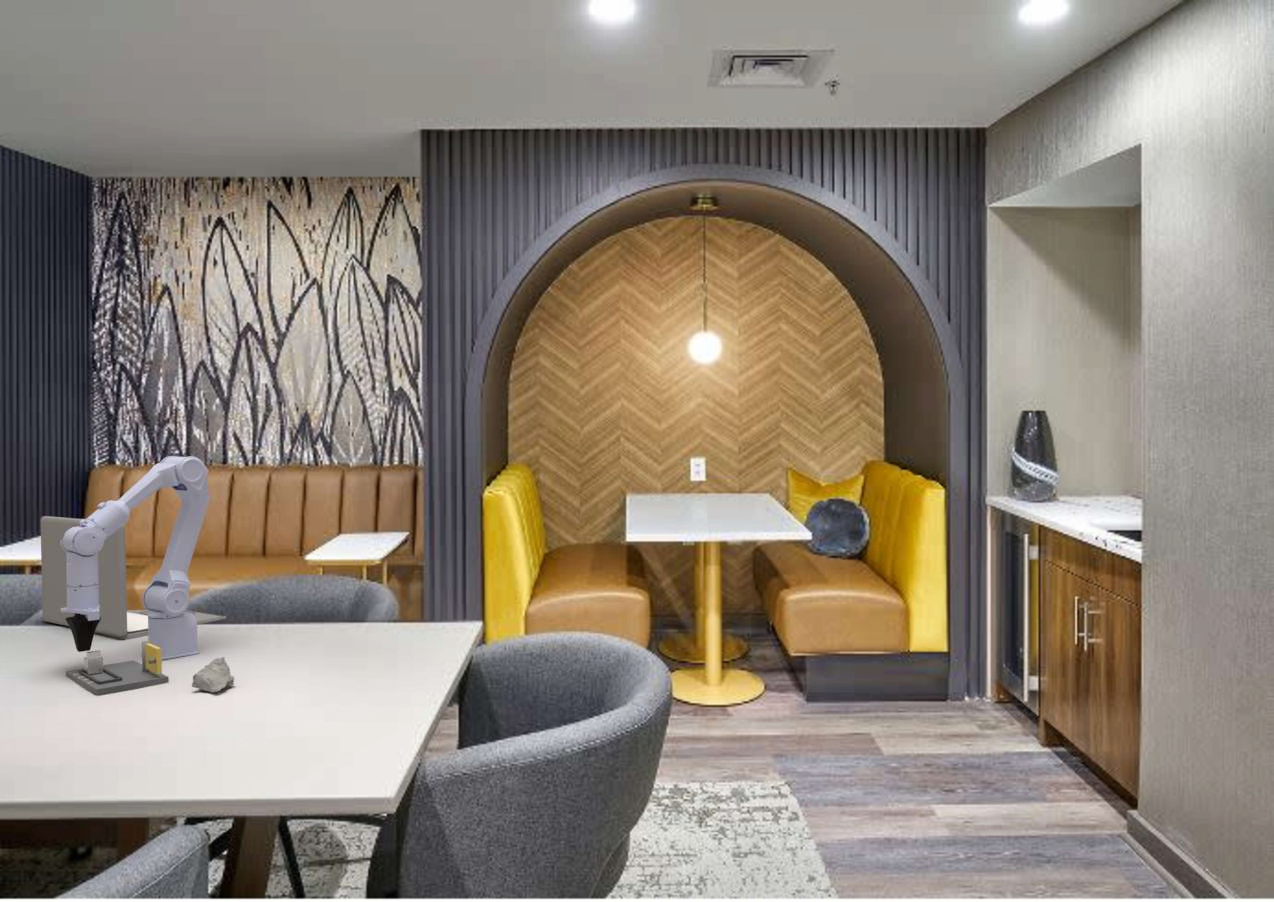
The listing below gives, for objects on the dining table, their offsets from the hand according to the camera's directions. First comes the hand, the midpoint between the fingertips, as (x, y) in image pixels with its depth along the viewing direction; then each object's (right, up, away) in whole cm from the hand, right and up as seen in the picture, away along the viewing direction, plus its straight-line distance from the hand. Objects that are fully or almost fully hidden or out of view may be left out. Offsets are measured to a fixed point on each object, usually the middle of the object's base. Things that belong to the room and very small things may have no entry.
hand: (83, 650), depth 203 cm
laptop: (-14, -4, +48) cm, 50 cm away
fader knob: (+4, -4, -4) cm, 7 cm away
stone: (+29, -6, -6) cm, 31 cm away
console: (+9, -5, -5) cm, 12 cm away
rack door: (+17, -3, -6) cm, 18 cm away
